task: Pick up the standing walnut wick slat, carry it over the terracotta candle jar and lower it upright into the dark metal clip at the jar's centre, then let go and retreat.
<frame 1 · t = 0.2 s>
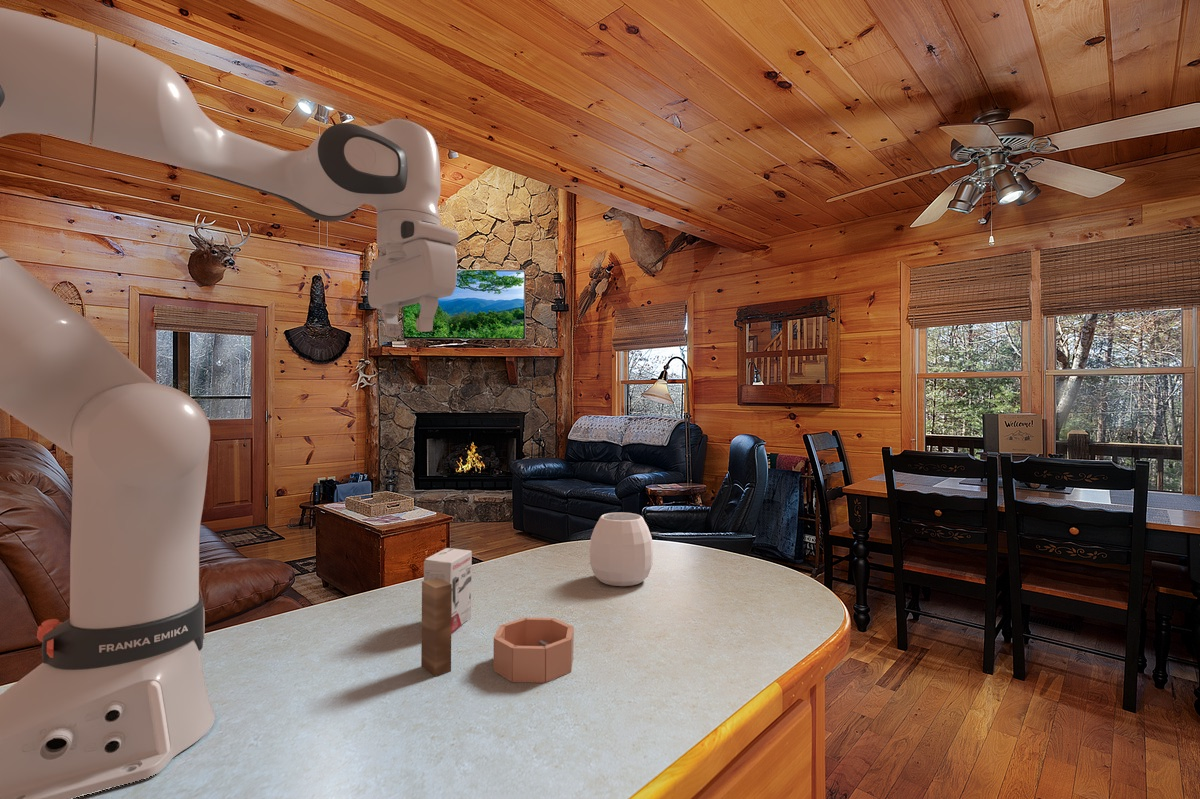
hand: (408, 333, 84), 47 cm above the counter, fingers open, 8 cm apart
wick: (436, 669, 80), on the counter
jar: (534, 663, 82), on the counter
cup: (621, 582, 120), on the counter
ink box: (448, 626, 96), on the counter
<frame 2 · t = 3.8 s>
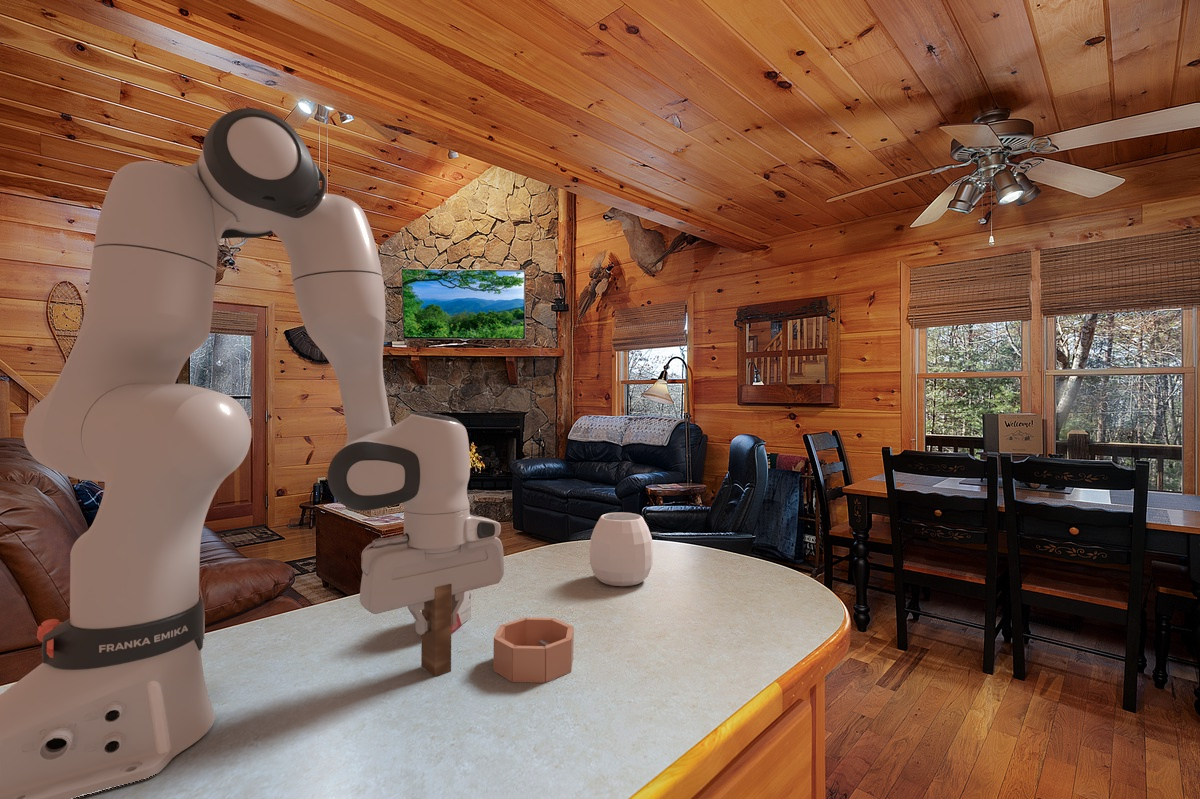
hand: (436, 628, 80), 6 cm above the counter, fingers closed on wick, 2 cm apart
wick: (436, 668, 80), on the counter, touching gripper
everything else where it was.
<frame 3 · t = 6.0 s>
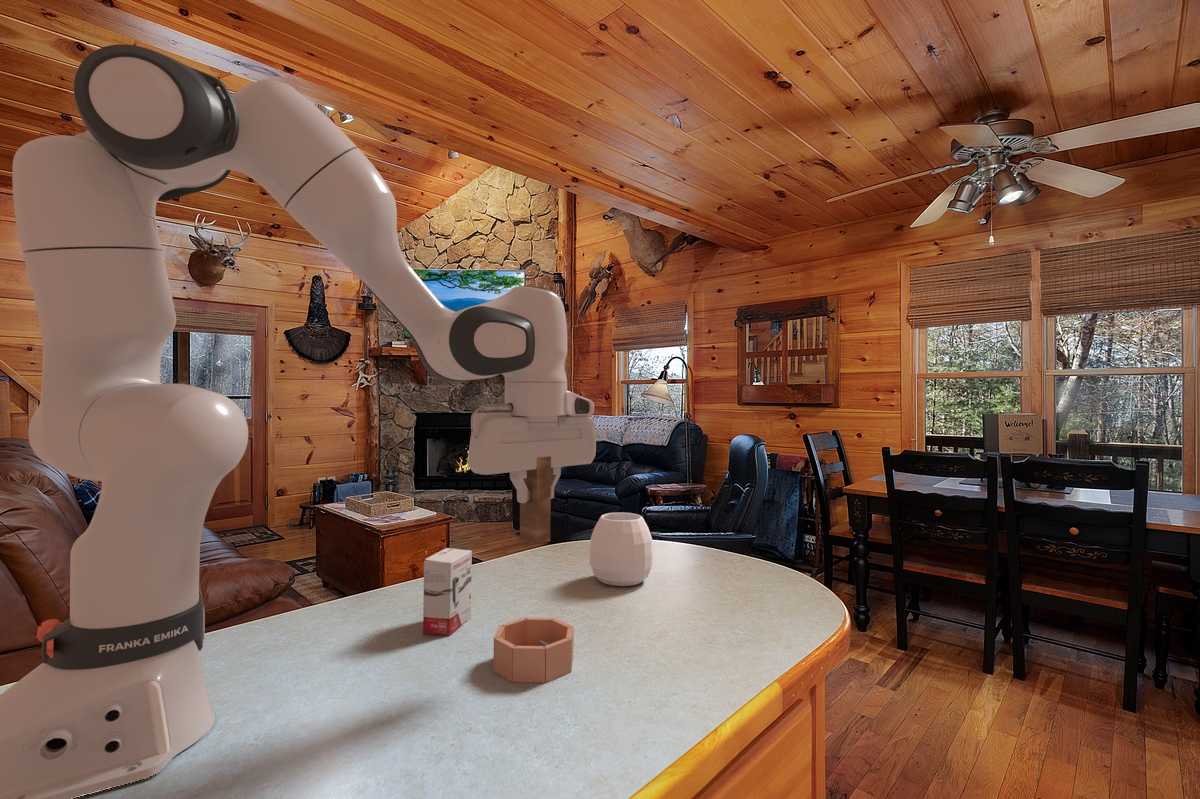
hand: (535, 500, 82), 23 cm above the counter, fingers closed on wick, 2 cm apart
wick: (534, 540, 82), point 18 cm above the counter, touching gripper
everything else where it was.
when the fingers open (7 cm above the counter, at t = 8.3 s): wick stays where it is, resting on jar.
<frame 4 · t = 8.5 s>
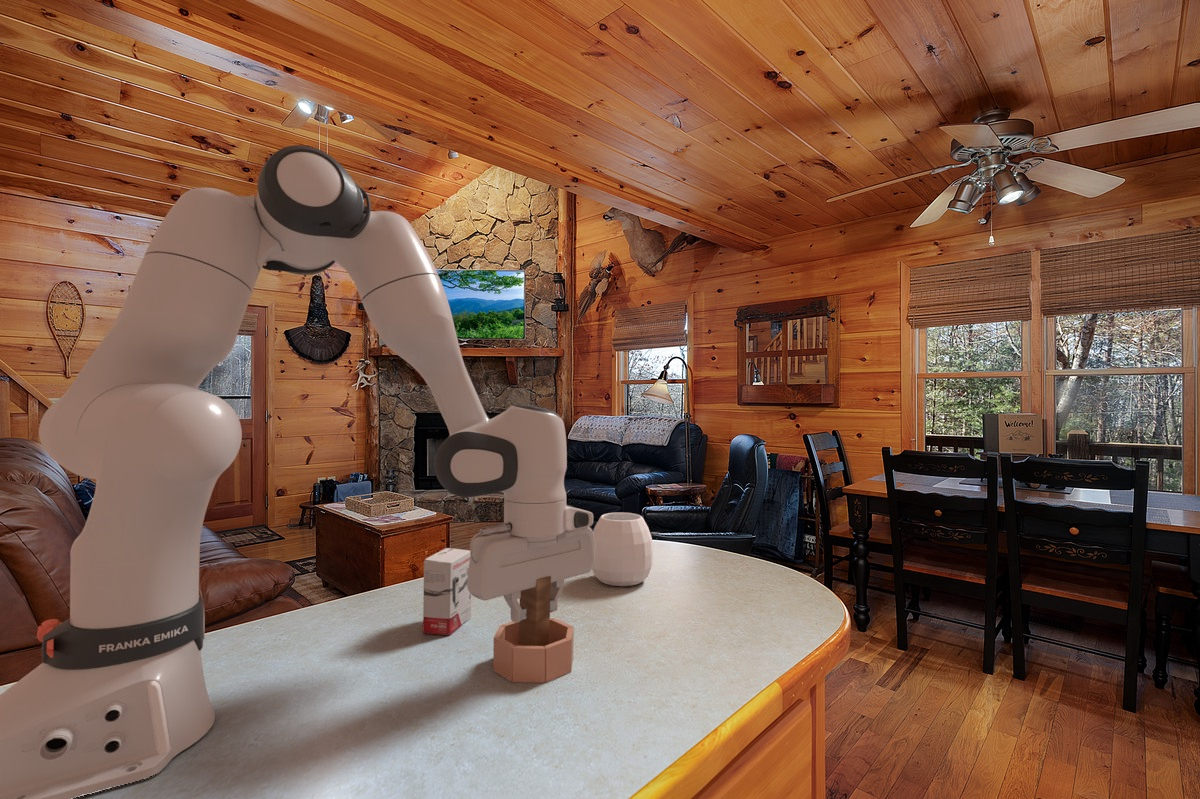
hand: (534, 615, 82), 7 cm above the counter, fingers open, 4 cm apart
wick: (533, 658, 82), point 1 cm above the counter, touching jar
everything else where it was.
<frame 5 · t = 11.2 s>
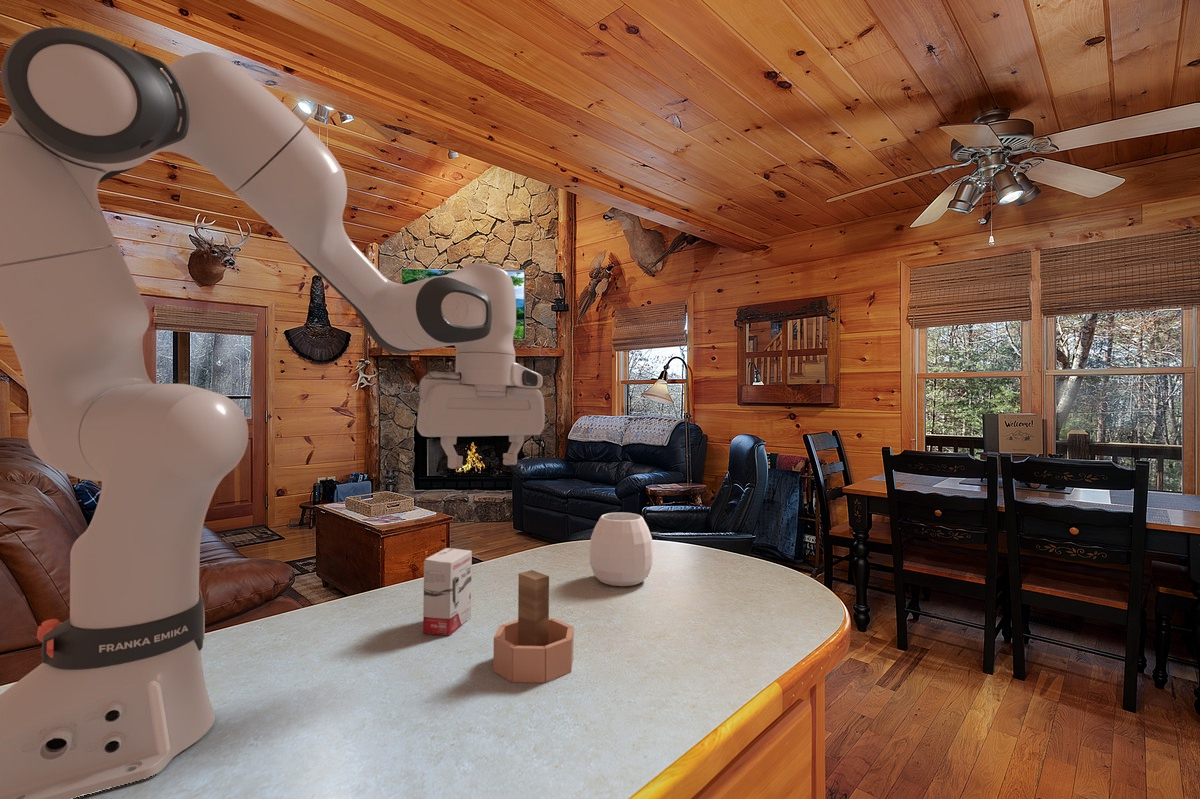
hand: (483, 466, 87), 27 cm above the counter, fingers open, 8 cm apart
nothing on the counter moved.
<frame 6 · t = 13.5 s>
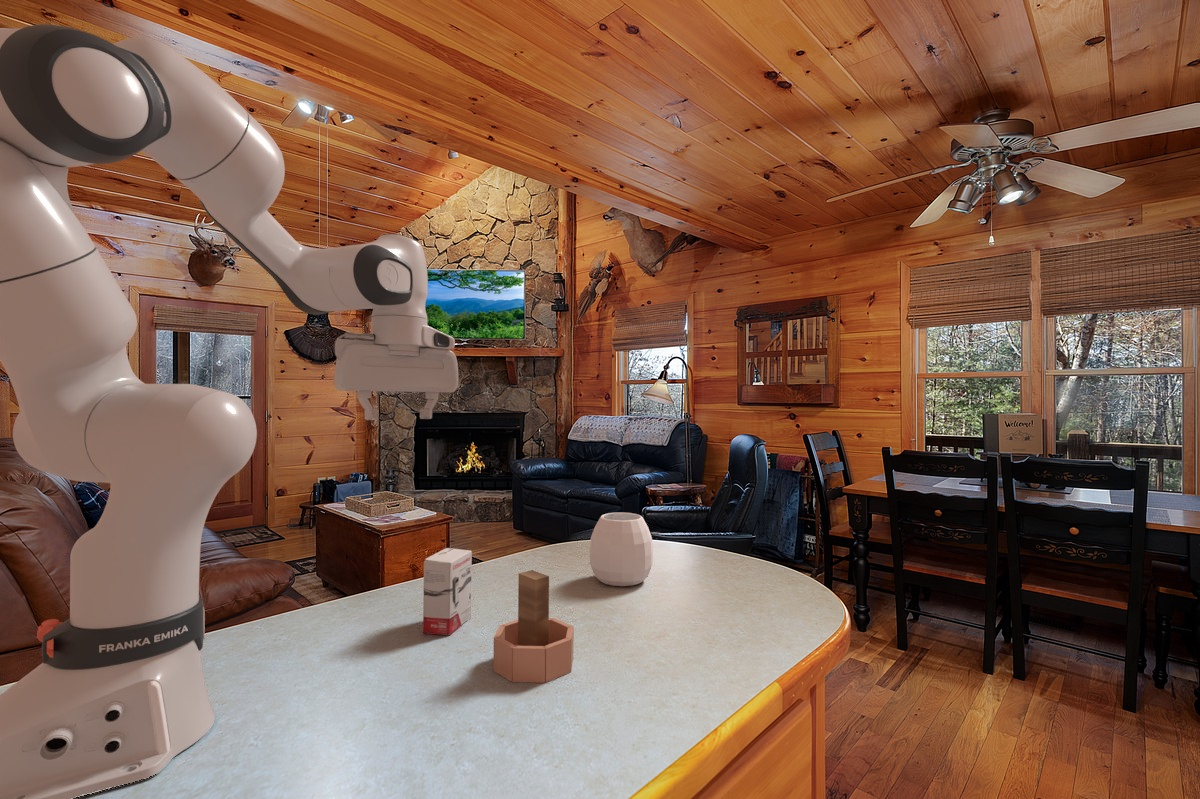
hand: (399, 419, 96), 34 cm above the counter, fingers open, 8 cm apart
nothing on the counter moved.
at the end: wick 0.3 cm off-centre on the jar, point 0.6 cm above the jar's base; wick tilted 0°; the gripper is holding nothing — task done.
